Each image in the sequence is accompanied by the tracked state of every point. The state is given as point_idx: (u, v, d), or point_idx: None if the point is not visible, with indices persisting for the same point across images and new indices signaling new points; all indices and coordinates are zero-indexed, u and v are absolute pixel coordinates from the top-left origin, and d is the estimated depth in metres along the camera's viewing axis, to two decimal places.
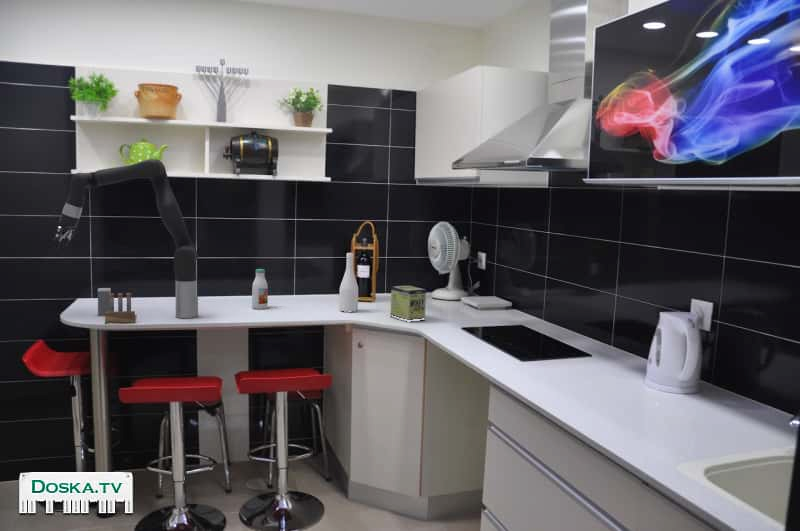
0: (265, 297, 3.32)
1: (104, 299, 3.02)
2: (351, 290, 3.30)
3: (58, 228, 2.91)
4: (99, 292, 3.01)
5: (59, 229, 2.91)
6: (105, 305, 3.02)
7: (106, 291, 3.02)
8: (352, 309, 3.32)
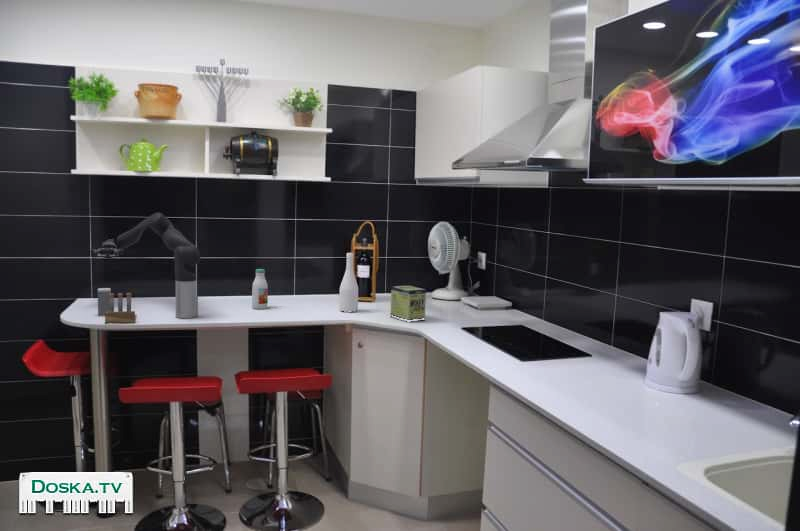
0: (265, 297, 3.32)
1: (104, 299, 3.02)
2: (351, 290, 3.30)
3: None
4: (99, 292, 3.01)
5: None
6: (105, 305, 3.02)
7: (106, 291, 3.02)
8: (352, 309, 3.32)
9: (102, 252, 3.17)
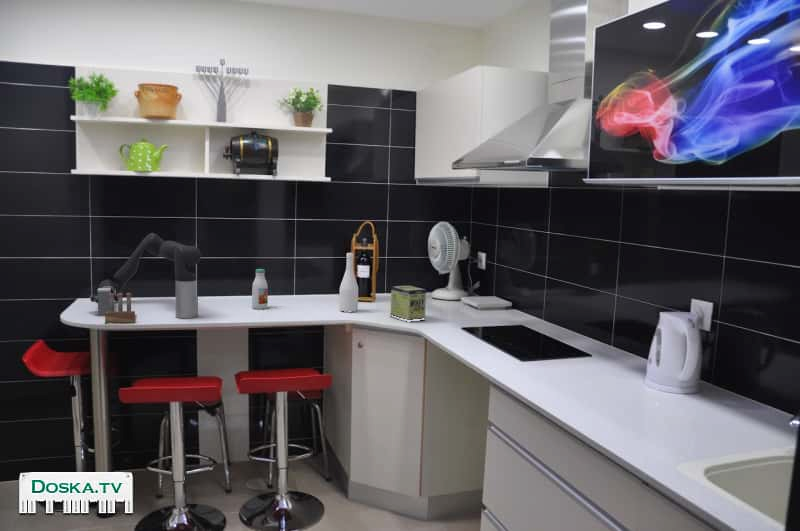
0: (265, 297, 3.32)
1: (104, 299, 3.02)
2: (351, 290, 3.30)
3: (90, 298, 3.08)
4: (99, 292, 3.01)
5: (90, 297, 3.08)
6: (105, 305, 3.02)
7: (106, 291, 3.02)
8: (352, 309, 3.32)
9: None
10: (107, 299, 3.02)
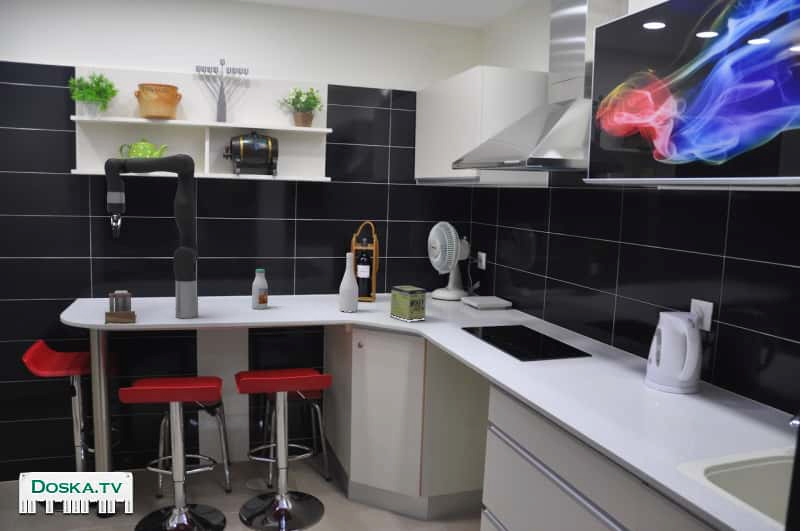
0: (265, 297, 3.32)
1: None
2: (351, 290, 3.30)
3: (114, 217, 2.98)
4: (116, 295, 2.92)
5: (115, 217, 2.98)
6: None
7: (123, 294, 2.93)
8: (352, 309, 3.32)
9: None
10: (124, 302, 2.94)
